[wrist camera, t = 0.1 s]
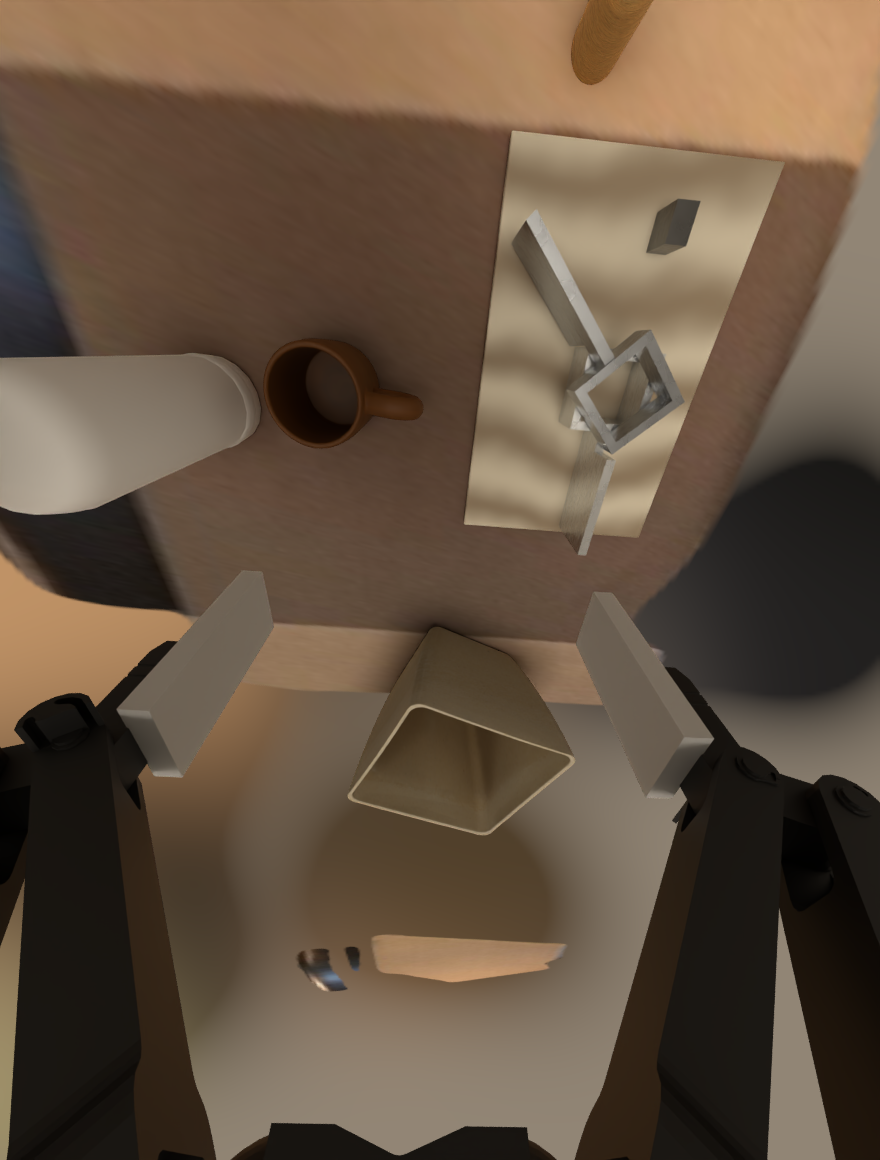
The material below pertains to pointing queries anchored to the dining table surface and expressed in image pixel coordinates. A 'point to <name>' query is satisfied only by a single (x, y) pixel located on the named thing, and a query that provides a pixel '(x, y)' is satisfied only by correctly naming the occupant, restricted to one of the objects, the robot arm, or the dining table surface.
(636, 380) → the hinge base
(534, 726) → the flower pot
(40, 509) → the bottle
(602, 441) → the square frame with bar
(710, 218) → the board
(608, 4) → the pin
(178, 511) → the dining table surface
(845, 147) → the dining table surface
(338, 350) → the mug
